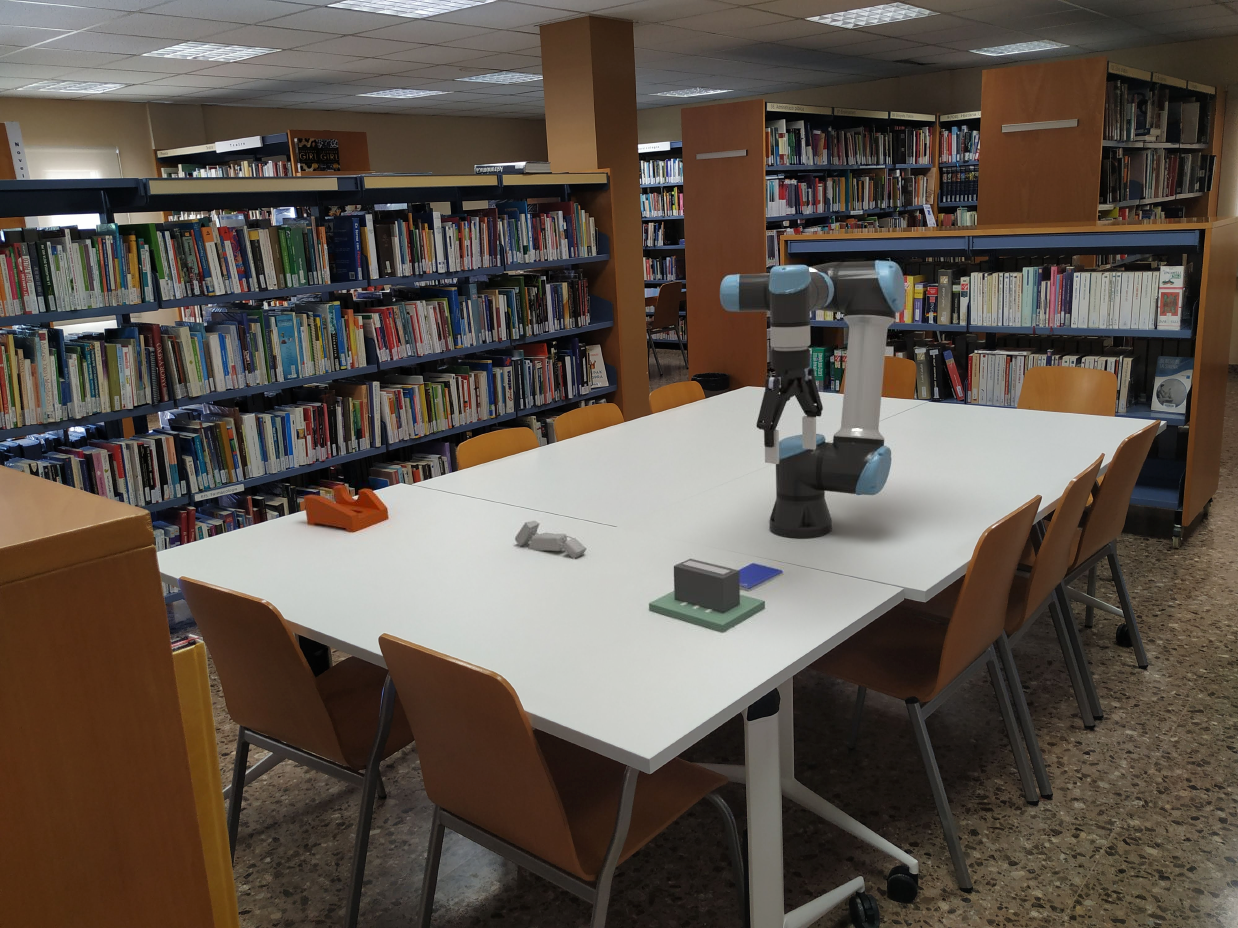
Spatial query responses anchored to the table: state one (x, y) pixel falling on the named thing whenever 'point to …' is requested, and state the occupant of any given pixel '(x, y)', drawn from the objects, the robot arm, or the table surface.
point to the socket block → (707, 585)
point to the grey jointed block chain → (548, 540)
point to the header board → (707, 612)
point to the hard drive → (757, 576)
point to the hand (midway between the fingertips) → (791, 455)
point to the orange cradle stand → (346, 509)
